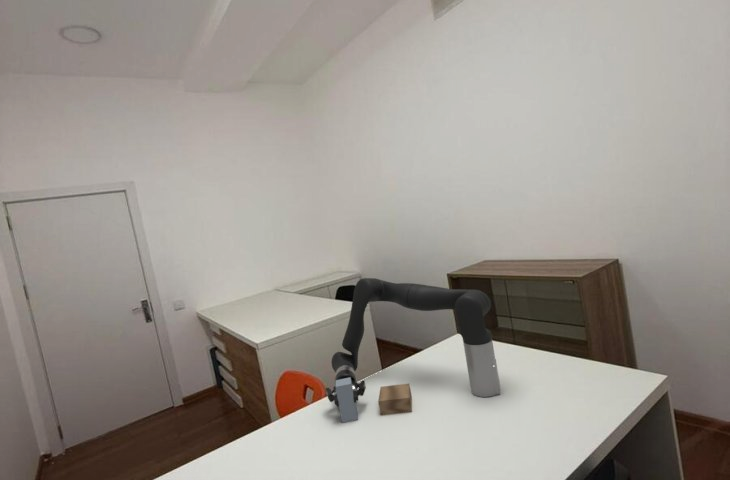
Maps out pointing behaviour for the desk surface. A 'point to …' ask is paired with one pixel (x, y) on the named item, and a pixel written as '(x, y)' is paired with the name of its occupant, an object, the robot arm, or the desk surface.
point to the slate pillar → (346, 400)
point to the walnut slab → (395, 399)
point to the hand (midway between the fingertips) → (346, 401)
